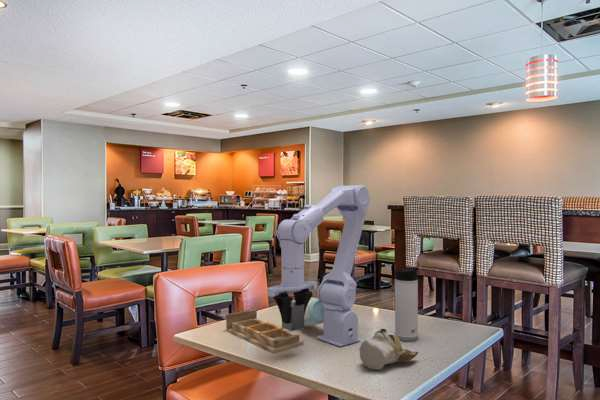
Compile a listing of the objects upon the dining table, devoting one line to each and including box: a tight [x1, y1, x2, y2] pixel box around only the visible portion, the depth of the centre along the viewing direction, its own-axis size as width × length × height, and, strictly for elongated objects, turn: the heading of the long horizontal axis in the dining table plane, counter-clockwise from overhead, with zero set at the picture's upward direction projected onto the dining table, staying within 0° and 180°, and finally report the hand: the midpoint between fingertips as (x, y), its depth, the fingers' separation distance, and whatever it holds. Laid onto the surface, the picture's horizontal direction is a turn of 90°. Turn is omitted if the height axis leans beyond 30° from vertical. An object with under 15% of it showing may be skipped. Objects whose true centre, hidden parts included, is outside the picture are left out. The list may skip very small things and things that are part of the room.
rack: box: [225, 308, 304, 354], centre depth 123 cm, size 24×10×5 cm, turn 39°
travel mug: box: [394, 266, 420, 342], centre depth 122 cm, size 6×7×20 cm
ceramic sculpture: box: [358, 328, 419, 371], centre depth 103 cm, size 11×9×15 cm
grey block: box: [281, 301, 305, 332], centre depth 109 cm, size 4×4×6 cm
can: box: [304, 298, 324, 327], centre depth 129 cm, size 7×7×12 cm
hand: (293, 321), depth 109 cm, fingers closed on grey block, 4 cm apart
